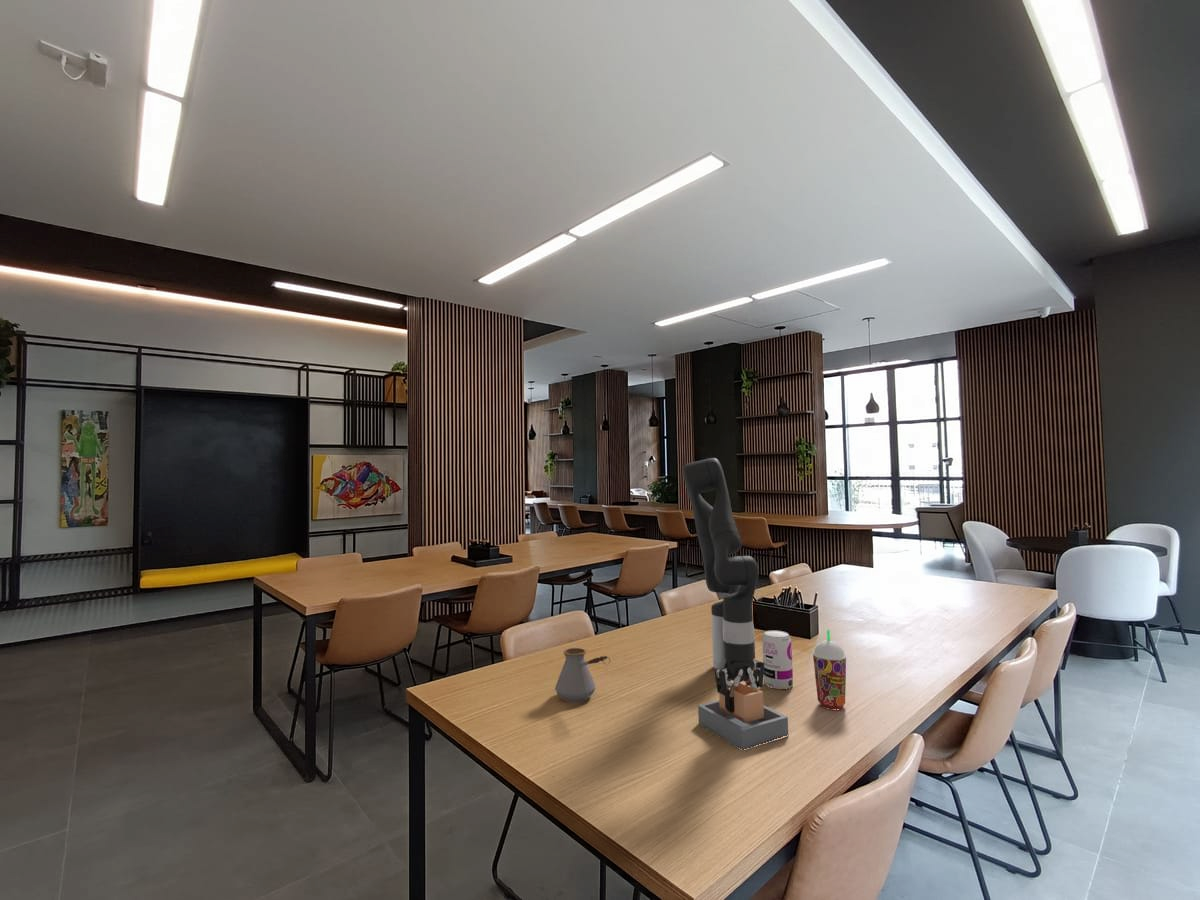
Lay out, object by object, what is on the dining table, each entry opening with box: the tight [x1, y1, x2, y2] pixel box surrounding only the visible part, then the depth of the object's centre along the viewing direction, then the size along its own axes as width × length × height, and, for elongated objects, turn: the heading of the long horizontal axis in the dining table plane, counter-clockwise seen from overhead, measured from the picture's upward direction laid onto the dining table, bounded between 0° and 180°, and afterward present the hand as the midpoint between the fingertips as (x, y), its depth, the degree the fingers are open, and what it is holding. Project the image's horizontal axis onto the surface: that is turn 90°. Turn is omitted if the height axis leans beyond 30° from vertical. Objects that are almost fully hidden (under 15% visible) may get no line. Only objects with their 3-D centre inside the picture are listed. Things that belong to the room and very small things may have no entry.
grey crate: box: [697, 699, 789, 751], centre depth 132 cm, size 14×16×4 cm
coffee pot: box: [555, 647, 611, 704], centre depth 151 cm, size 21×12×15 cm, turn 36°
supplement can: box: [761, 629, 794, 690], centre depth 161 cm, size 8×8×15 cm
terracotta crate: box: [718, 680, 765, 723], centre depth 132 cm, size 6×9×6 cm, turn 27°
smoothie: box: [812, 629, 847, 711], centre depth 145 cm, size 8×8×20 cm
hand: (741, 708), depth 132 cm, fingers closed on terracotta crate, 6 cm apart
